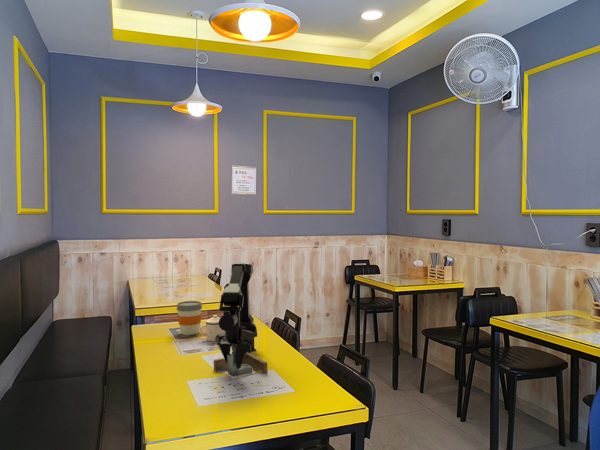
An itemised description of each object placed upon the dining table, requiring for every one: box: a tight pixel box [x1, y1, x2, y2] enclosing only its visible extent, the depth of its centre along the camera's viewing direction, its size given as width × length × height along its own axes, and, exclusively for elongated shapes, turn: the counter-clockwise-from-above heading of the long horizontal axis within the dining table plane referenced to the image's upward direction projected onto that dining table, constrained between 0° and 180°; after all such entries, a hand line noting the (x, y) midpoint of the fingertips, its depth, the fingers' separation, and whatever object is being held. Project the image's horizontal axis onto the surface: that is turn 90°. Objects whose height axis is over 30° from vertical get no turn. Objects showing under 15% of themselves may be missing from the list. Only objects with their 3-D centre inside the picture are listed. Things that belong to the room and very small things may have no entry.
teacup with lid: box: [199, 314, 225, 343], centre depth 222 cm, size 12×9×12 cm
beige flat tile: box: [223, 370, 257, 379], centre depth 176 cm, size 10×8×1 cm
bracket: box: [227, 353, 253, 377], centre depth 176 cm, size 8×5×7 cm, turn 124°
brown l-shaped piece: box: [213, 352, 269, 375], centre depth 178 cm, size 15×15×4 cm
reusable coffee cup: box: [176, 300, 203, 336], centre depth 235 cm, size 13×13×15 cm
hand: (232, 365), depth 174 cm, fingers open, 9 cm apart
